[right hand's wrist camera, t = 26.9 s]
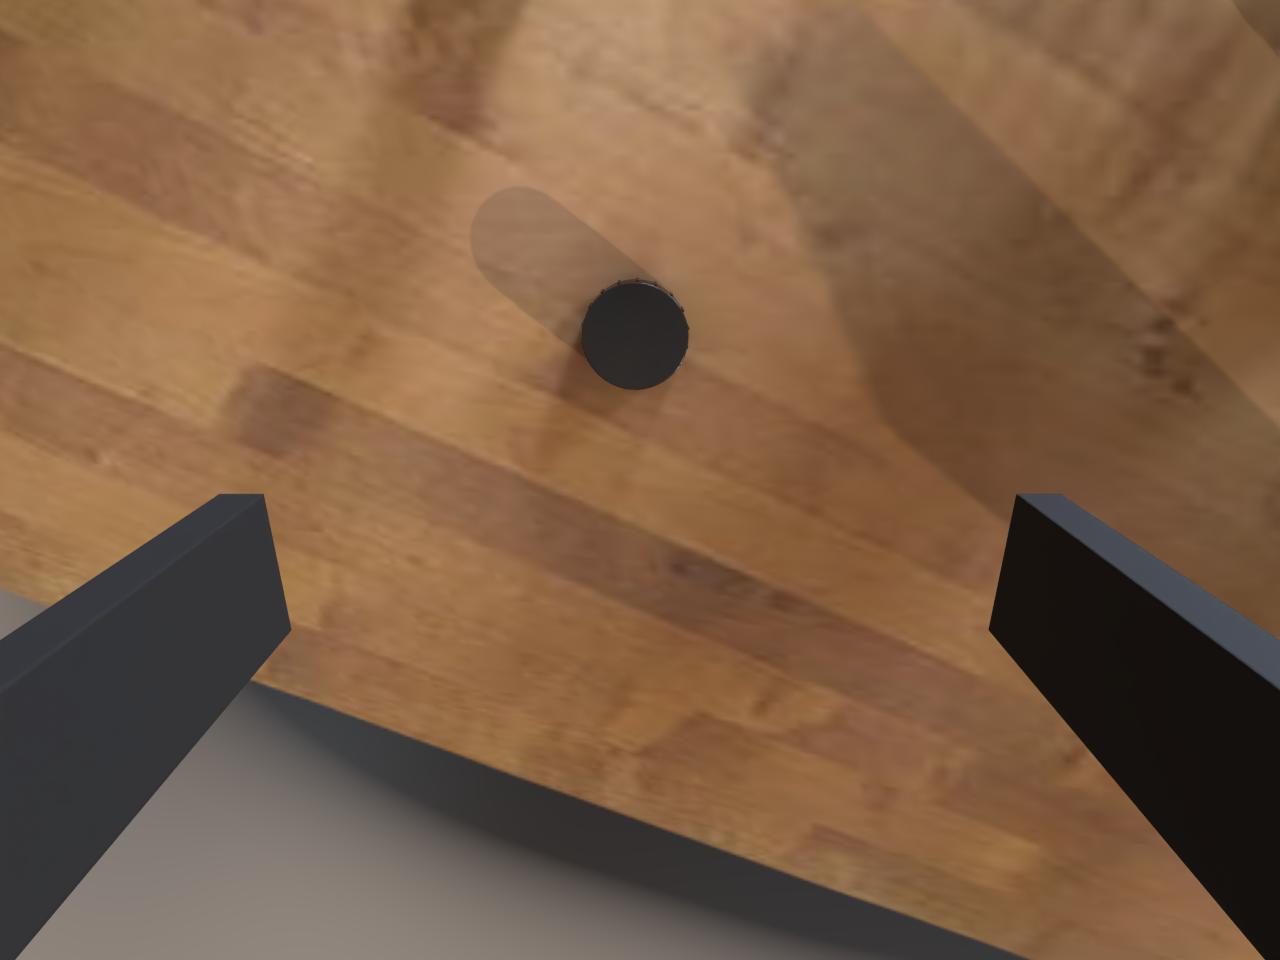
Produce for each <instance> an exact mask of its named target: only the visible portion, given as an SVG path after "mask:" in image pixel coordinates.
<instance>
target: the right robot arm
mask: <svg viewBox="0 0 1280 960" xmlns="http://www.w3.org/2000/svg"><path fill="white" fill-rule="evenodd" d="M290 631H291V625H290V620H289V616H288V611H287V606H286V601H285V596H284V591H283V586H282V581H281V577H280V572H279V567H278V562H277V557H276V552H275V547H274V543H273V538H272V533H271V528H270V523H269V518H268V513H267V508H266V504H265V499H264V494H219V495H217V496H216V497H214V498H213V499H211V500H210V501H208V502H207V503H205V504H204V505H202V506H201V507H199V508H198V509H196V510H195V511H193V512H192V513H190V514H189V515H187V516H186V517H184V518H183V519H181V520H180V521H178V522H177V523H175V524H174V525H172V526H171V527H169V528H168V529H166V530H165V531H163V532H162V533H160V534H159V535H157V536H156V537H154V538H153V539H151V540H150V541H148V542H147V543H145V544H144V545H142V546H141V547H139V548H138V549H136V550H135V551H133V552H132V553H130V554H129V555H127V556H126V557H124V558H123V559H121V560H120V561H118V562H117V563H115V564H114V565H112V566H111V567H109V568H108V569H106V570H105V571H103V572H102V573H100V574H99V575H97V576H96V577H94V578H93V579H91V580H90V581H88V582H87V583H85V584H84V585H82V586H81V587H79V588H78V589H76V590H75V591H73V592H72V593H70V594H69V595H67V596H66V597H64V598H63V599H61V600H60V601H58V602H57V603H55V604H54V605H52V606H51V607H49V608H48V609H46V610H45V611H43V612H42V613H40V614H39V615H37V616H36V617H34V618H33V619H31V620H30V621H28V622H27V623H25V624H24V625H22V626H21V627H19V628H18V629H16V630H15V631H13V632H12V633H10V634H9V635H7V636H6V637H4V638H3V639H1V640H0V960H15V959H16V958H17V957H18V956H19V954H20V953H21V952H22V951H23V950H24V948H25V947H26V946H27V945H28V944H29V942H30V941H31V940H32V939H33V938H34V936H35V935H36V934H37V933H38V932H39V931H40V929H41V928H42V927H43V926H44V925H45V923H46V922H47V921H48V920H49V919H50V917H51V916H52V915H53V914H54V913H55V911H56V910H57V909H58V908H59V907H60V905H61V904H62V903H63V902H64V901H65V900H66V898H67V897H68V896H69V895H70V894H71V892H72V891H73V890H74V889H75V888H76V886H77V885H78V884H79V883H80V882H81V880H82V879H83V878H84V877H85V876H86V874H87V873H88V872H89V871H90V870H91V868H92V867H93V866H94V865H95V864H96V863H97V861H98V860H99V859H100V858H101V857H102V855H103V854H104V853H105V852H106V851H107V849H108V848H109V847H110V846H111V845H112V843H113V842H114V841H115V840H116V839H117V837H118V836H119V835H120V834H121V833H122V831H123V830H124V829H125V828H126V827H127V825H128V824H129V823H130V822H131V821H132V820H133V818H134V817H135V816H136V815H137V814H138V812H139V811H140V810H141V809H142V808H143V806H144V805H145V804H146V803H147V802H148V800H149V799H150V798H151V797H152V796H153V795H154V793H155V792H156V791H157V790H158V789H159V787H160V786H161V785H162V784H163V783H164V781H165V780H166V779H167V778H168V777H169V775H170V774H171V773H172V772H173V771H174V769H175V768H176V767H177V766H178V765H179V763H180V762H181V761H182V760H183V759H184V758H185V756H186V755H187V754H188V753H189V752H190V750H191V749H192V748H193V747H194V745H195V744H196V743H197V742H198V741H199V740H200V738H201V737H202V736H203V735H204V734H205V732H206V731H207V730H208V729H209V728H210V726H211V725H212V724H213V723H214V722H215V721H216V719H217V718H218V717H219V716H220V714H221V713H222V712H223V711H224V710H225V709H226V707H227V706H228V705H229V704H230V703H231V701H232V700H233V699H234V698H235V697H236V695H237V694H238V693H239V692H240V691H241V689H242V688H243V687H244V686H245V685H246V684H247V682H248V681H249V680H250V679H251V678H252V676H253V675H254V674H255V673H256V672H257V670H258V669H259V668H260V667H261V666H262V664H263V663H264V662H265V661H266V660H267V658H268V657H269V656H270V655H271V654H272V653H273V651H274V650H275V649H276V648H277V647H278V645H279V644H280V643H281V642H282V641H283V639H284V638H285V637H286V636H287V635H288V633H289V632H290ZM989 631H990V632H991V633H992V635H993V636H994V637H995V638H996V639H997V641H998V642H999V643H1000V644H1001V645H1002V647H1003V648H1004V649H1005V650H1006V651H1007V653H1008V654H1009V655H1010V656H1011V657H1012V658H1013V660H1014V661H1015V662H1016V663H1017V664H1018V666H1019V667H1020V668H1021V669H1022V670H1023V672H1024V673H1025V674H1026V675H1027V676H1028V678H1029V679H1030V680H1031V681H1032V682H1033V684H1034V685H1035V686H1036V687H1037V688H1038V690H1039V691H1040V692H1041V693H1042V694H1043V695H1044V697H1045V698H1046V699H1047V700H1048V701H1049V703H1050V704H1051V705H1052V706H1053V707H1054V709H1055V710H1056V711H1057V712H1058V713H1059V715H1060V716H1061V717H1062V718H1063V719H1064V721H1065V722H1066V723H1067V724H1068V725H1069V726H1070V728H1071V729H1072V730H1073V731H1074V732H1075V734H1076V735H1077V736H1078V737H1079V738H1080V740H1081V741H1082V742H1083V743H1084V744H1085V746H1086V747H1087V748H1088V749H1089V750H1090V752H1091V753H1092V754H1093V755H1094V756H1095V758H1096V759H1097V760H1098V761H1099V762H1100V763H1101V765H1102V766H1103V767H1104V768H1105V769H1106V771H1107V772H1108V773H1109V774H1110V775H1111V777H1112V778H1113V779H1114V780H1115V781H1116V783H1117V784H1118V785H1119V786H1120V787H1121V789H1122V790H1123V791H1124V792H1125V793H1126V795H1127V796H1128V797H1129V798H1130V799H1131V800H1132V802H1133V803H1134V804H1135V805H1136V806H1137V808H1138V809H1139V810H1140V811H1141V812H1142V814H1143V815H1144V816H1145V817H1146V818H1147V820H1148V821H1149V822H1150V823H1151V824H1152V826H1153V827H1154V828H1155V829H1156V830H1157V831H1158V833H1159V834H1160V835H1161V836H1162V837H1163V839H1164V840H1165V841H1166V842H1167V843H1168V845H1169V846H1170V847H1171V848H1172V849H1173V851H1174V852H1175V853H1176V854H1177V855H1178V857H1179V858H1180V859H1181V860H1182V861H1183V863H1184V864H1185V865H1186V866H1187V867H1188V868H1189V870H1190V871H1191V872H1192V873H1193V874H1194V876H1195V877H1196V878H1197V879H1198V880H1199V882H1200V883H1201V884H1202V885H1203V886H1204V888H1205V889H1206V890H1207V891H1208V892H1209V894H1210V895H1211V896H1212V897H1213V898H1214V900H1215V901H1216V902H1217V903H1218V904H1219V905H1220V907H1221V908H1222V909H1223V910H1224V911H1225V913H1226V914H1227V915H1228V916H1229V917H1230V919H1231V920H1232V921H1233V922H1234V923H1235V925H1236V926H1237V927H1238V928H1239V929H1240V931H1241V932H1242V933H1243V934H1244V935H1245V937H1246V938H1247V939H1248V940H1249V941H1250V942H1251V944H1252V945H1253V946H1254V947H1255V948H1256V950H1257V951H1258V952H1259V953H1260V954H1261V956H1262V957H1263V958H1264V959H1265V960H1280V640H1279V639H1277V638H1276V637H1274V636H1273V635H1271V634H1270V633H1268V632H1267V631H1265V630H1264V629H1262V628H1261V627H1259V626H1258V625H1256V624H1255V623H1253V622H1252V621H1250V620H1249V619H1247V618H1246V617H1244V616H1243V615H1241V614H1240V613H1238V612H1237V611H1235V610H1234V609H1232V608H1231V607H1229V606H1228V605H1226V604H1225V603H1223V602H1222V601H1220V600H1219V599H1217V598H1216V597H1214V596H1213V595H1211V594H1210V593H1208V592H1207V591H1205V590H1204V589H1202V588H1201V587H1199V586H1198V585H1196V584H1195V583H1193V582H1192V581H1190V580H1189V579H1187V578H1186V577H1184V576H1183V575H1181V574H1180V573H1178V572H1177V571H1175V570H1174V569H1172V568H1171V567H1169V566H1168V565H1166V564H1165V563H1163V562H1162V561H1160V560H1159V559H1157V558H1156V557H1154V556H1153V555H1151V554H1150V553H1148V552H1147V551H1145V550H1144V549H1142V548H1141V547H1139V546H1138V545H1136V544H1135V543H1133V542H1132V541H1130V540H1129V539H1127V538H1126V537H1124V536H1123V535H1121V534H1120V533H1118V532H1117V531H1115V530H1114V529H1112V528H1111V527H1109V526H1108V525H1106V524H1105V523H1103V522H1102V521H1100V520H1099V519H1097V518H1096V517H1094V516H1093V515H1091V514H1090V513H1088V512H1087V511H1085V510H1084V509H1082V508H1081V507H1079V506H1078V505H1076V504H1075V503H1073V502H1072V501H1070V500H1069V499H1067V498H1066V497H1064V496H1063V495H1061V494H1016V499H1015V504H1014V508H1013V513H1012V518H1011V523H1010V528H1009V533H1008V538H1007V543H1006V547H1005V552H1004V557H1003V562H1002V567H1001V572H1000V577H999V581H998V586H997V591H996V596H995V601H994V606H993V611H992V616H991V620H990V625H989Z"/></svg>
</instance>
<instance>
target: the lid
mask: <svg viewBox="0 0 1280 960" xmlns="http://www.w3.org/2000/svg"><path fill="white" fill-rule="evenodd" d="M588 308H589V310H588V312H587V314H586V317H585V319H584V321H583V323H582V326H583V329H582V344H583V348H584V352H585V355H586V357H587V360H588V362H589V363H590V365H591V367H592V368H593V369H594V370H595V372H596V373H597V374H598V375H599V376H600V377H602V378H603V379H604V380H606V381H607V382H609V383H611V384H613V385H615V386H617V387H621V388H624V389H631V390H639V389H646V388H650V387H653V386H656V385H658V384H660V383H662V382H664V381H665V380H666V379H668V378H669V377H670V376H671V375H672V374H673V373H674V372H675V371H676V370H677V369H678V367H679V366H680V365H681V363H682V361H683V359H684V356H685V354H686V350H687V349H688V330H689V326H688V324H687V322H686V319H685V316H684V313H683V312H684V310H683V307H680V305H679V303H678V302H677V301H676V299H675V298H674V297H673V294H672V292H670V293H669V292H668V291H667V290H666V289H664V288H663V287H661V286H659V285H657V282H654V283H653V282H649V281H646V280H638V278H636V279H632V280H625V281H621V282H620V280H619V281H618V282H617V283H616V284H613V285H611V286H610V287H608V288H606V289H605V290H604V289H602V291H601V293H600V294H599V295H598V296H597V298H596V299H595V300H594V302H593V303H590V305H589V307H588Z"/></svg>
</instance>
